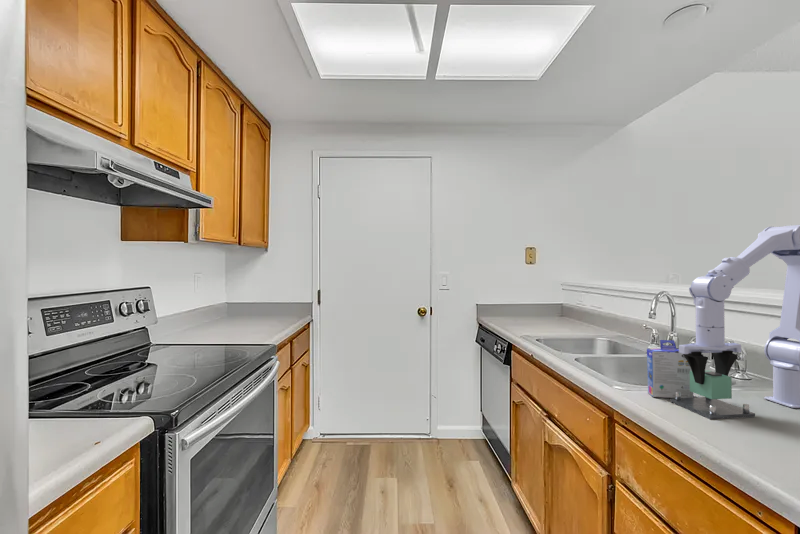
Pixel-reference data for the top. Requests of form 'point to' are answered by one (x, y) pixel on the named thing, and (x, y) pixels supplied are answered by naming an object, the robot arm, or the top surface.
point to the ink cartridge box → (668, 372)
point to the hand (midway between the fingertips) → (710, 382)
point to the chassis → (712, 407)
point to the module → (713, 386)
